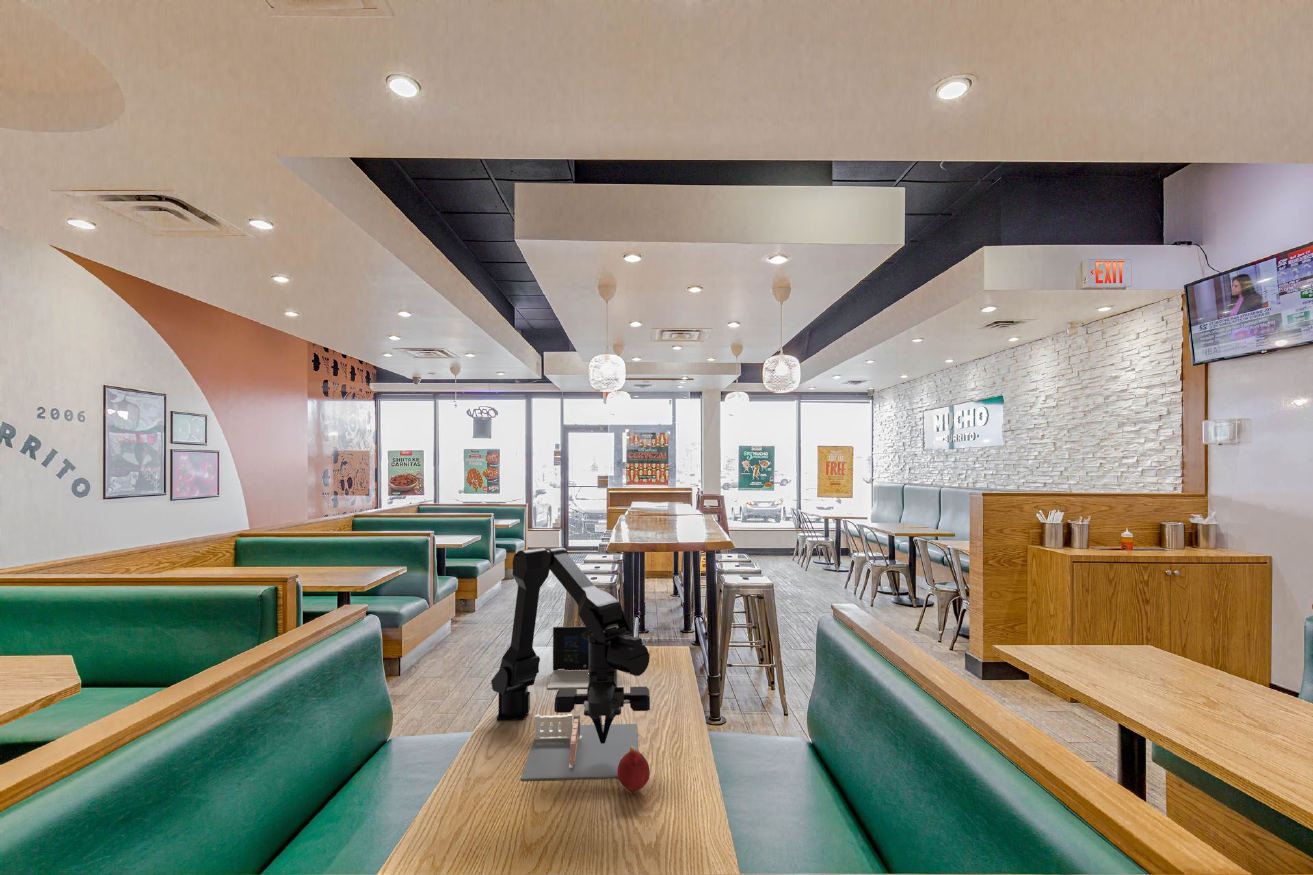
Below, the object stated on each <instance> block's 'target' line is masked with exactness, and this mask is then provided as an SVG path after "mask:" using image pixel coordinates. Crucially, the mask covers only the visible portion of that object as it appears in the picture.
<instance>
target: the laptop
mask: <svg viewBox="0 0 1313 875" xmlns="http://www.w3.org/2000/svg"><path fill="white" fill-rule="evenodd" d="M616 628H618V626H616V627H613V628H609V629H606V630H603V631H605V632H606V631H609V630H613V629H616ZM586 631H587V628H586V626H585V625H583V626H582V625H581V626H553V627H552V672H551V676H550V679H549V681H548V685H547V690H548V689H549V690H559V689H560V688H577V689H587V688H588V685H589V674H588V673H589V640H588V639H585V638H582V634H583V633H584V632H586Z"/></svg>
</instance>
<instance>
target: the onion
mask: <svg viewBox="0 0 1313 875" xmlns="http://www.w3.org/2000/svg"><path fill="white" fill-rule="evenodd" d="M617 775H618V778H617V779H618V780H619V783H620V784H621V786H622V787H623V788H625V789H626V791H628V792H629V793H631V794H634V793H637V792H638V791H640V790H641V789H643V788H644V787H645V786H646V785H647V783H648V782H649V779H650V775H651V772H650V765H649V762H648V760H647V759H646V757H645V756H644V755H643V754H642V752H639V750H638V751H637V750H636V749H635V748H634V747H633V746H631V747H630V752H628V753H627V754H625V755H624V756H623V758H622V759H621V760H620V762H619V765H618V770H617Z"/></svg>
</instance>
